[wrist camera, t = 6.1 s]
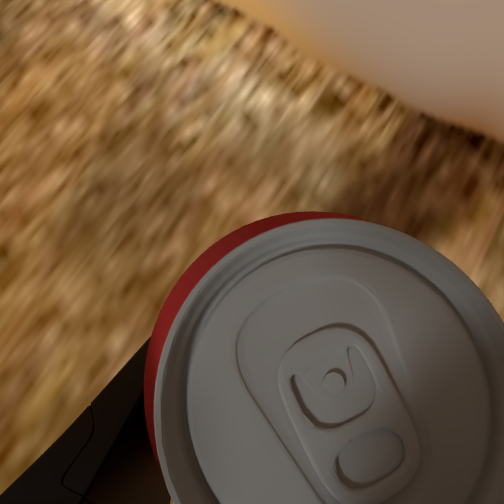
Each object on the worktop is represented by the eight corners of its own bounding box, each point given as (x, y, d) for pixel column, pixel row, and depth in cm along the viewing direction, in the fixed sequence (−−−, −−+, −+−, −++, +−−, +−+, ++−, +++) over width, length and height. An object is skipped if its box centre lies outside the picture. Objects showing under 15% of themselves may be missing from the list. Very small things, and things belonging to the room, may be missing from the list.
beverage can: (304, 254, 17) (422, 114, 5) (365, 374, 16) (695, 532, 4) (189, 308, 16) (37, 283, 5) (243, 436, 15) (220, 837, 3)
